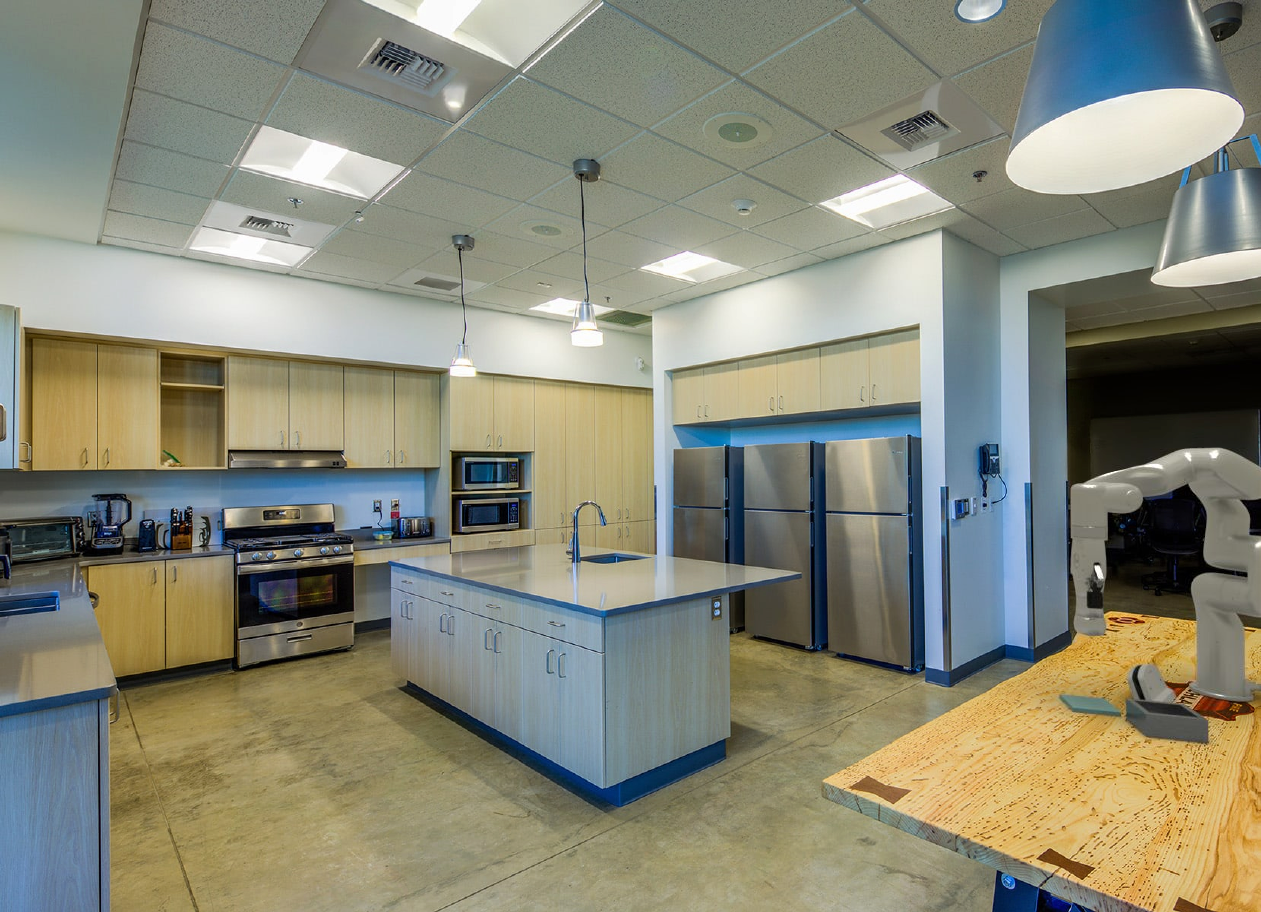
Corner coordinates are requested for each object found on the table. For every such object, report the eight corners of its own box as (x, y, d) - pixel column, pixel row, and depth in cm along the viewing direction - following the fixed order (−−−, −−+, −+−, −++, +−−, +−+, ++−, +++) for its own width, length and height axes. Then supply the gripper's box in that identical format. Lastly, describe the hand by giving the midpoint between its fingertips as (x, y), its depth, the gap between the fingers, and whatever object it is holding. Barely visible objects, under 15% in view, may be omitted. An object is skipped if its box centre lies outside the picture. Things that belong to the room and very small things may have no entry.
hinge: (1161, 712, 160) (1144, 670, 163) (1139, 714, 163) (1122, 672, 166) (1176, 697, 171) (1160, 658, 173) (1155, 698, 174) (1139, 660, 177)
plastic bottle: (1107, 640, 159) (1107, 557, 159) (1074, 636, 163) (1073, 555, 163) (1105, 634, 164) (1104, 554, 165) (1072, 630, 168) (1072, 552, 168)
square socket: (1183, 725, 152) (1183, 703, 152) (1208, 743, 142) (1208, 720, 142) (1125, 719, 155) (1125, 698, 155) (1146, 736, 145) (1145, 714, 145)
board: (1104, 702, 167) (1104, 698, 167) (1121, 716, 157) (1121, 712, 157) (1059, 698, 170) (1059, 694, 170) (1073, 711, 160) (1073, 707, 160)
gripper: (1060, 529, 173) (1060, 598, 173) (1084, 536, 157) (1085, 612, 156) (1093, 530, 171) (1093, 599, 171) (1121, 537, 155) (1122, 614, 154)
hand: (1089, 604), depth 164 cm, fingers closed on plastic bottle, 6 cm apart
